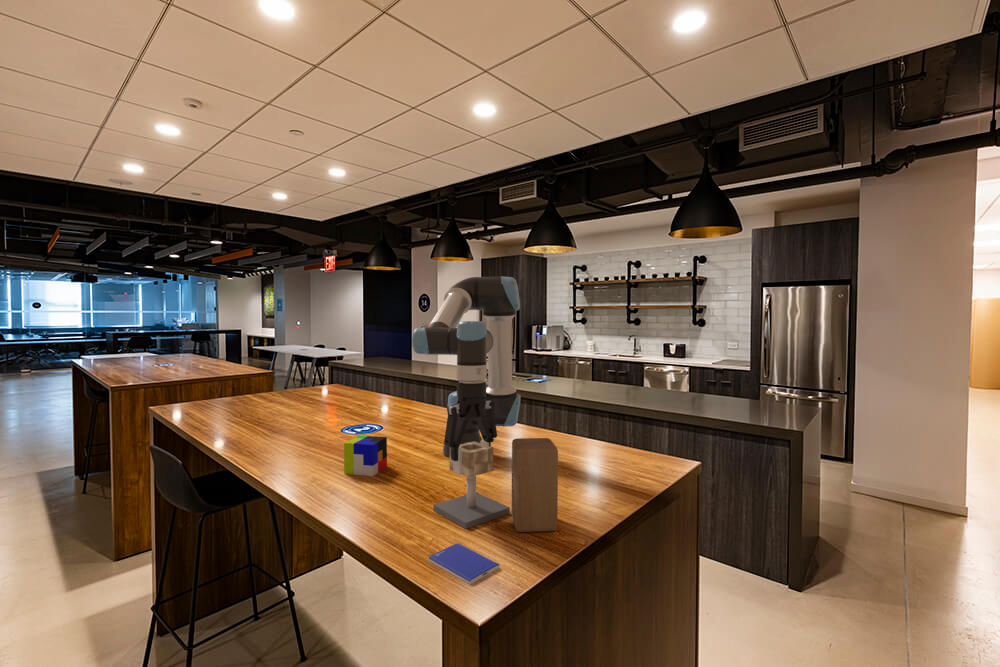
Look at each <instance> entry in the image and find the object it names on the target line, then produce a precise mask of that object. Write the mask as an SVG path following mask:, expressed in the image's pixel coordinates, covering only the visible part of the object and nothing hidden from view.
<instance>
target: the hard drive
mask: <svg viewBox="0 0 1000 667" xmlns="http://www.w3.org/2000/svg"><path fill="white" fill-rule="evenodd" d="M428 562H430V563H432V564H433V565H435V566H436V567H439V568H440V569H441V570H444V571H445V572H447V573H449V574H451V575H452V576H454V577H456V578H458V579H460V580H461V581H463V582H465V583H466V584H469V585H472V584H474V583H475V582H476V581H479V580H482V578H484V577H486V576H488V575H489V574H492V573H493V572H495V571H497V570H498V569H500V563H498V562H497V561H493V560H492V559H489V558H487V557H486V556H484V555H482V554H480V553H478V552H476V551H474V550H472V549H471V548H468V547H466V545H465V546H464V545H463V544H461V543H459V542H457V543H454V544H452V545H450V546H448V547H446V548H444V549H441V550H439V551H437V552H434V553H433V554H431V555H429V557H428Z"/></svg>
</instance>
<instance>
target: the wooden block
mask: <svg viewBox="0 0 1000 667" xmlns="http://www.w3.org/2000/svg"><path fill="white" fill-rule="evenodd" d="M558 473H559V450H558V448H557V446H556V444H555V443H554V442H553V440H552V439H551V438H549V437H535V438H534V437H533V438H530V437H529V438H526V437H524V438H523V437H522V438H521V437H520V438H514V439H512V442H511V517H512V520H513V523H514V528H515V530H516V532H518V533H528V532H529V533H531V532H554V531H557V528H558V500H559V497H558V496H559V494H558V492H559V490H558V488H559V484H558V483H559V481H558V480H559V474H558Z"/></svg>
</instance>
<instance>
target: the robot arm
mask: <svg viewBox="0 0 1000 667" xmlns="http://www.w3.org/2000/svg"><path fill="white" fill-rule="evenodd" d="M520 300H521V298H520V291H519V286H518V283H517V280H516V279H515V278H514V277H511V276H503V275H502V276H472V277H467V278H464V279H462V280H460V281H458V282H456V283H455V284H453V285H452V286H451V287H450V288H449V289H448V290H447V291H446V292H445V294H444V297H443V302H442V304H441V306H440V307H439V309H438V310H437V312H436V314H435V315H434V317H433V319H431V321H430V323H429V324H428V326H422V327H417V328H415V329H414V330H413V332H412V337H411V340H412V341H411V344H412V349H413V352H415V354H418V355H427V356H429V355H432V356H433V355H439V356H442V355H445V356H447V355H450V356H452V355H453V356H455V355H456V380H457V381H458V382H457V383H456V390H455V391H453V392H451V393H450V394H449V395H448V397H447V405H446V406H447V407H446V413H447V418H446V427H445V431H444V432H445V433H444V439H443V444H444V445H443V448H442V453H443V455H444V456H445V457H447V458H450V447H451V460H453V471H452V472H453V473H454V474H457V475H458V476H460V475H461V474H462V448H460V447H459V446H460V444H464V443H469V442H477V443H480V444H483V445H486V446H490V447H492V445H491V444H492V443H493V442H494V440H495V439H497V437H498V433H497V432H498V431H497V427H503V428H504V427H514V426H516V425H517V422H518V420H519V419H518V418H519V413H520V408H521V407H520V406H521V396H522V395H521V394H519V393H517V388H516V387H515V386H514V385H513V355H512V354H513V352H512V351H513V347H512V346H513V343H512V342H513V341H512V338H513V337H512V336H513V335H512V331H513V330H512V329H513V328H512V325H513V324H512V320H513V319H514V317H515V316H516V315H517V311H519V310H521V301H520ZM469 311H482V316H483V318H485V319H486V321H487V323H486V321H482V320H480V321H479V320H464V321H463V320H462V318H463V317H464V314H465V313H467V312H469ZM487 366H488V368H487ZM487 371H488V372H487ZM487 374H488V377H487ZM487 378H488V382H486V379H487ZM487 383H488V385H487Z"/></svg>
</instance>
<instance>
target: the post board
mask: <svg viewBox="0 0 1000 667" xmlns="http://www.w3.org/2000/svg"><path fill="white" fill-rule="evenodd" d="M432 507H433V511H434V512H435V513H438V515H440V516H442V517H444V518H446V519H448V520H449V521H451V522H453V523H455V524H456V525H458V526H460V527H461V528H463V529H465V530H467V529H470V528H472V527H475V526H478V525H480V524H484V523H486V522H489V521H491V520H494V519H497V518H500V517H503V516H506V515H508V514H510V512H511V511H510V507H509V506H508V505H506V504H503V503H501V502H500V501H497V500H495V499H493V498H491V497H488V496H485V495H484V494H482V493H479V492H477V475H476V476H472V477H469V478H468V477H466V494H465V495H463V496H462V495H461V496H459V497H455V498H452V499H448V500H444V501H442V502H438V503H435V504H433V506H432Z"/></svg>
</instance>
